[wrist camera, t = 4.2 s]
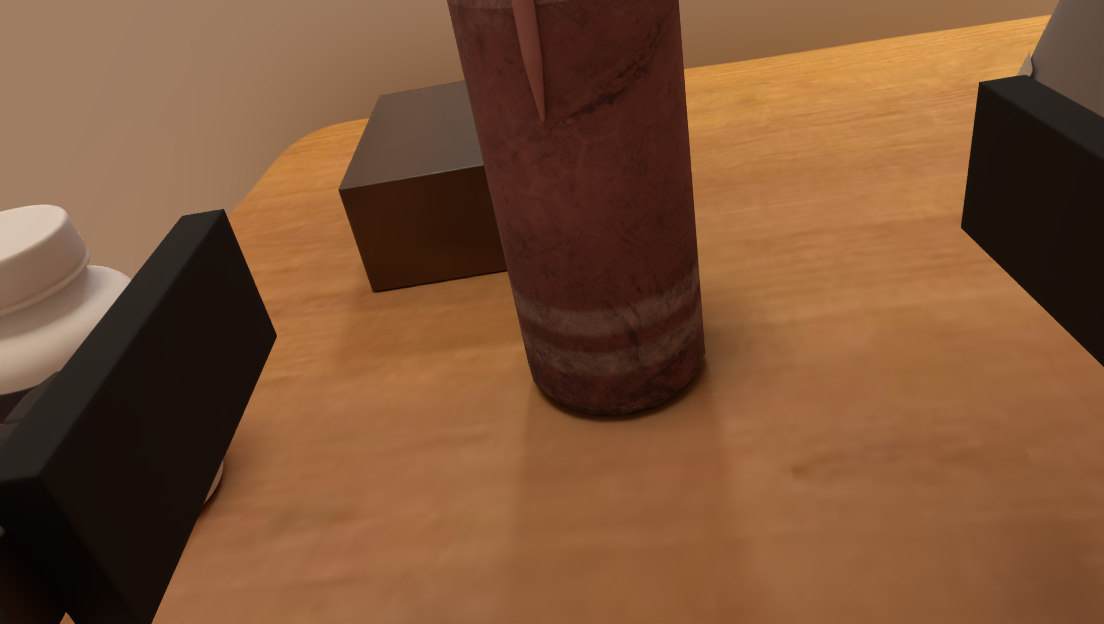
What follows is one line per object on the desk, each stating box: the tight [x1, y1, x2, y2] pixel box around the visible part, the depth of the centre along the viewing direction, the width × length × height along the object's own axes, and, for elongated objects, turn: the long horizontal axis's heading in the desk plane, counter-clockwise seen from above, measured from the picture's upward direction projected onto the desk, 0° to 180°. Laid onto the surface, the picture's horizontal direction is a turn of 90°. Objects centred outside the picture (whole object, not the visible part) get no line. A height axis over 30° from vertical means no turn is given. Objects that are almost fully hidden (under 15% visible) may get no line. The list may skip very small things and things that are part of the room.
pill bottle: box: [0, 205, 224, 505], centre depth 24 cm, size 5×5×10 cm
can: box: [447, 0, 705, 415], centre depth 25 cm, size 6×6×14 cm
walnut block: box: [339, 81, 507, 292], centre depth 39 cm, size 12×12×5 cm
